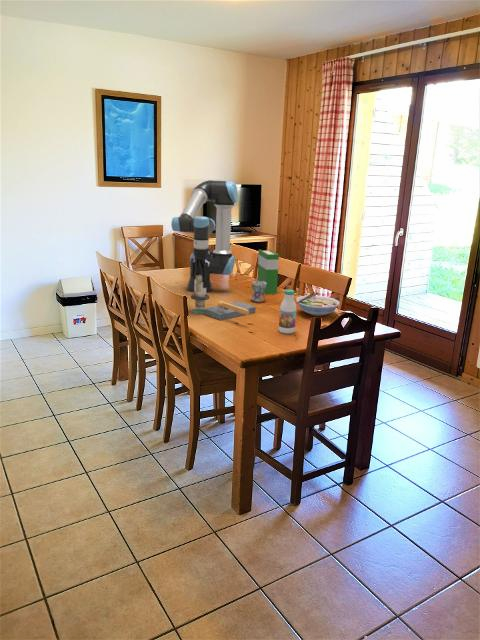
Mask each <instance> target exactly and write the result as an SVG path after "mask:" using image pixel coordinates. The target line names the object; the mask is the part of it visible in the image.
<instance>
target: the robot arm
mask: <svg viewBox="0 0 480 640" xmlns="http://www.w3.org/2000/svg"><path fill="white" fill-rule="evenodd" d="M238 195H239V194H238V187H237V184H236V183H235V182H234V181H230V180H212V179H211V180H206V181H205V180H204V181H202V182H201V183H199V184H198V185H196V186H195V187H194V188H193V189H192V191H191V193H190V198H189V199H188V201H187V203H186V205H185V207H184V208H183V210H182V212H181V213H180V215H179V216H174V217H172V220H171V222H170V223H171V229H172V231H173V232H178V233H191V234H193V252H192V253H191V254H190V257H189V258H190V259H189V279H188V282H187V285H186V290H187V291H188V292H192V293H195V280H196V275H202V281H201V294H207V293H208V292H211V291H212V290H213V286H212V282H211V275H221V276H230V275H231V274H233V271H234V267H235V263H236V257H235V256H234V255H233V252H232V250H231V230H232V229H231V227H232V226H231V225H232V209H233V207H234V206H235V203H237V202H238V197H239V196H238ZM207 202H213V204H214V206H215V207H216V222H215V220H214V219H212V218H209V217H207V216H198V214H199V212H200V210H201V208H202V206H203V205H204V204H206V203H207ZM214 231H215V248H214V250H213V251H212V254H211V252H210V251H209V241H210V240H209V237H210V235H209V234H211V233H213V232H214Z"/></svg>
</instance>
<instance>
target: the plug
mask: <svg viewBox="0 0 480 640" xmlns="http://www.w3.org/2000/svg"><path fill="white" fill-rule="evenodd" d="M201 281H202V275H196V280H195V292H194V293H193V294H191V295H190V299H191V300H194V303H195V304H194V306H195V308H206V307H205V305H206V304H205V303H206V301H207V300H209V299H210V295H209V294H207V293H206V294H201Z"/></svg>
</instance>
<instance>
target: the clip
mask: <svg viewBox="0 0 480 640" xmlns="http://www.w3.org/2000/svg"><path fill="white" fill-rule="evenodd" d="M217 306H218V307H224V308H227V309H230V310H233V311H236V312H239V313H242V314H245V315H244V316H249V315H250V314H249V310H247V309H244V308H241V307H238V306H235V305H232V304H229V303H228V302H225V300H218V301H217Z"/></svg>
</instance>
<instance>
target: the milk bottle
mask: <svg viewBox="0 0 480 640" xmlns="http://www.w3.org/2000/svg"><path fill="white" fill-rule="evenodd" d="M283 293H284V294H283V295H284V297H283V300H282V301H281V303H280V308H279V316H278V317H279V319H278V331H279V333H281V334H287V335H289V334H290V335H291V334H294V333H295V330H296V322H297V319H296V318H297V303H296V301H295V298H294V296H295V290H293V289H284V292H283Z"/></svg>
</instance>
